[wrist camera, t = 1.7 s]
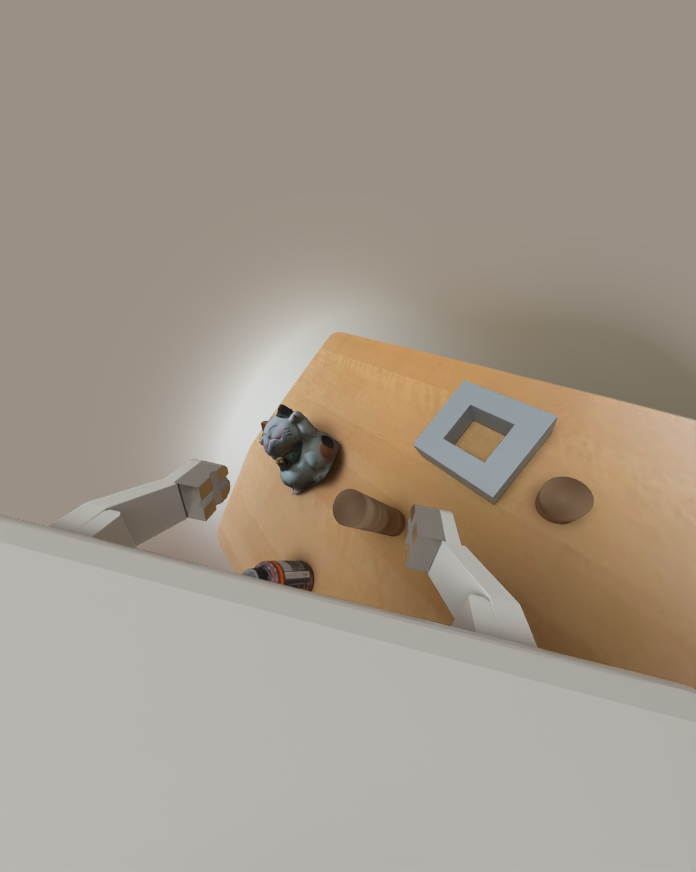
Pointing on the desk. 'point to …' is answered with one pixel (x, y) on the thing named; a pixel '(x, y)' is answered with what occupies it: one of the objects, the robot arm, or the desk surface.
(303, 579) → the supplement bottle
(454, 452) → the socket block
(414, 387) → the desk surface
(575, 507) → the short pin
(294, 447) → the lucky cat figurine
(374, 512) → the long pin
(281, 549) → the desk surface
